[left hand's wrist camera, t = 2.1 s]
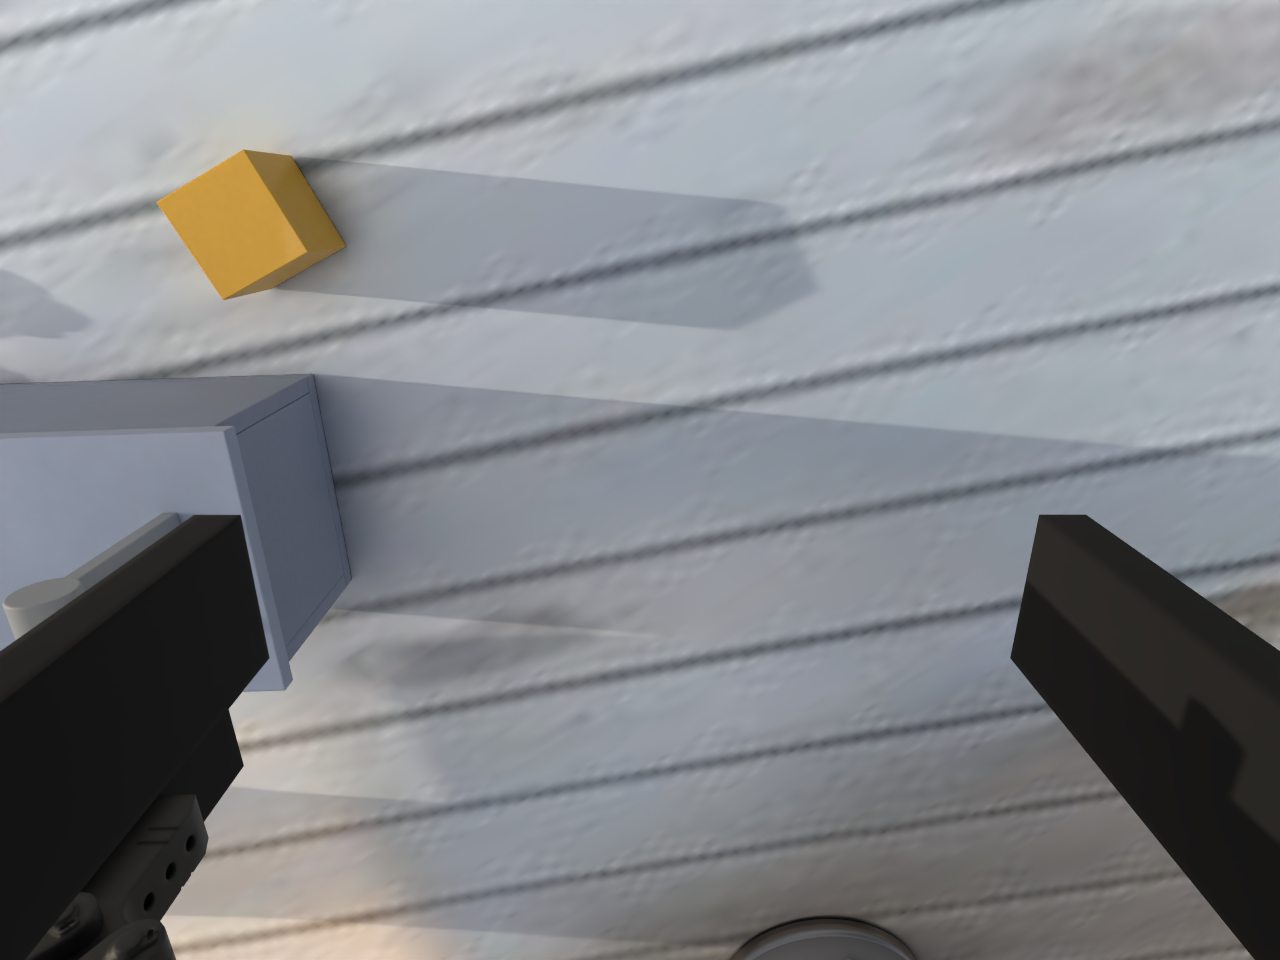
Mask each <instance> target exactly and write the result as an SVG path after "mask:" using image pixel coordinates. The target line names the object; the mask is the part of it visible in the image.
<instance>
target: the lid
mask: <svg viewBox="0 0 1280 960" xmlns="http://www.w3.org/2000/svg"><path fill="white" fill-rule="evenodd" d="M193 515H241V519H242V524H243V529H244V534H245V539H246V544H247V548H248V553H249V558H250V563H251V568H252V573H253V578H254V583H255V588H256V593H257V598H258V603H259V608H260V613H261V618H262V623H263V628H264V633H265V638H266V643H267V648H268V653H269V659H268V661H267V662H266V663H265V664H264V666H263V667H262V668H261V669H260V671H259V672H258V673H257V674H256V676H255V677H254V678H253V679H252V680H251V682H250V683H249V684H248V685H247V687H246V688H245V689H244V690H243V692H249V691H283V690H286V689H287V687H288V686H289V684H290V683H291V682H292V680H293V678H292V674H291V670H290V665H289V661H288V657H287V652H286V648H285V644H284V639H283V635H282V631H281V626H280V622H279V618H278V613H277V609H276V605H275V600H274V596H273V592H272V587H271V583H270V579H269V574H268V570H267V566H266V561H265V557H264V553H263V548H262V544H261V540H260V535H259V531H258V527H257V522H256V518H255V514H254V509H253V505H252V501H251V496H250V492H249V488H248V483H247V479H246V475H245V470H244V466H243V462H242V457H241V453H240V449H239V444H238V440H237V436H236V431H235V427H234V426H212V427H181V428H150V429H120V430H89V431H59V432H28V433H0V651H1V650H3V649H4V648H5V647H7V646H8V645H10V644H11V643H12V642H14V641H15V640H17V639H18V638H20V637H21V636H22V635H24V634H25V633H27V632H28V631H30V630H31V629H32V628H34V627H35V626H37V625H38V624H40V623H41V622H42V621H44V620H45V619H47V618H48V617H49V616H51V615H52V614H54V613H55V612H57V611H58V610H59V609H61V608H62V607H64V606H65V605H67V604H68V603H69V602H71V601H72V600H74V599H75V598H76V597H78V596H79V595H81V594H82V593H84V592H85V591H86V590H88V589H89V588H91V587H92V586H94V585H95V584H96V583H98V582H99V581H101V580H102V579H104V578H105V577H106V576H108V575H109V574H111V573H112V572H113V571H115V570H116V569H118V568H119V567H121V566H122V565H123V564H125V563H126V562H128V561H129V560H131V559H132V558H133V557H135V556H136V555H138V554H139V553H140V552H142V551H143V550H145V549H146V548H148V547H149V546H150V545H152V544H153V543H155V542H156V541H158V540H159V539H160V538H162V537H163V536H165V535H166V534H167V533H169V532H170V531H172V530H173V529H175V528H176V527H177V526H179V525H180V524H182V523H183V522H185V521H186V520H187V519H189V518H190V517H192V516H193Z"/></svg>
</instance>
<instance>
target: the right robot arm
mask: <svg viewBox="0 0 1280 960" xmlns="http://www.w3.org/2000/svg"><path fill="white" fill-rule="evenodd" d="M243 766H244V765H243V761H242V757H241V754H240V750H239V746H238V743H237V739H236V735H235V732H234V728H233V724H232V721H231V717H230V713H229V710H227V711H226V713H225V714H224V715H223V716H222V717H221V719H220V720H219V721H218V722H217V724H216V725H215V726H214V727H213V729H212V730H211V731H210V732H209V733H208V735H207V736H206V737H205V738H204V740H203V741H202V742H201V743H200V745H199V746H198V747H197V748H196V750H195V751H194V752H193V753H192V754H191V756H190V757H189V758H188V759H187V761H186V762H185V763H184V764H183V766H182V767H181V768H180V769H179V771H178V772H177V773H176V774H175V775H174V777H173V778H172V779H171V780H170V782H169V783H168V784H167V785H166V787H165V788H164V789H163V790H162V791H161V793H160V794H159V795H158V796H157V798H156V799H155V800H154V801H153V803H152V804H151V805H150V806H149V808H148V809H147V810H146V811H145V812H144V814H143V815H142V816H141V817H140V819H139V820H138V821H137V822H136V824H135V825H134V826H133V827H132V828H131V830H130V831H129V832H128V833H127V835H126V836H125V837H124V838H123V840H122V841H121V842H120V843H119V845H118V846H117V847H116V848H115V849H114V851H113V852H112V853H111V854H110V856H109V857H108V858H107V859H106V861H105V862H104V863H103V864H102V865H101V867H100V868H99V869H98V870H97V872H96V873H95V874H94V875H93V877H92V878H91V879H90V880H89V882H88V883H87V884H86V885H85V886H84V888H83V889H82V890H81V891H80V893H79V894H78V895H77V896H76V898H75V899H74V900H73V901H72V902H71V904H70V905H69V906H68V907H67V909H66V910H65V911H64V912H63V914H62V915H61V916H60V917H59V919H58V920H57V921H56V922H55V923H54V925H53V926H52V927H51V928H50V930H49V931H48V932H47V933H46V935H45V936H44V937H43V938H42V940H41V941H40V942H39V943H38V944H37V946H36V947H35V948H34V949H33V951H32V952H31V953H30V954H29V956H28V957H27V958H26V959H25V960H176V958H175V955H174V952H173V949H172V947H171V944H170V941H169V938H168V935H167V932H166V929H165V927H164V926H163V925H162V923H161V922H160V920H161V919H162V917H163V916H164V915H165V913H166V912H167V910H168V909H169V907H170V906H171V904H172V903H173V901H174V900H175V898H176V897H177V895H178V894H179V892H180V891H181V887H182V886H184V885H185V883H186V882H187V880H188V879H189V877H190V876H191V872H193V871H194V870H195V869H196V867H197V866H198V864H199V863H200V861H201V860H202V858H203V857H204V855H205V853H206V848H207V843H208V835H207V831H206V828H205V825H204V821H205V820H206V818H207V817H208V815H209V814H210V813H211V811H212V810H213V808H214V807H215V806H216V804H217V803H218V801H219V800H220V799H221V797H222V796H223V794H224V793H225V791H226V790H227V789H228V787H229V786H230V784H231V783H232V782H233V780H234V779H235V777H236V776H237V775H238V773H239V772H240V770H241V769H242V768H243Z"/></svg>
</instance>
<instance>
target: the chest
mask: <svg viewBox="0 0 1280 960" xmlns="http://www.w3.org/2000/svg"><path fill="white" fill-rule="evenodd" d="M212 426H234V427H235V431H236V436H237V440H238V444H239V449H240V453H241V457H242V462H243V466H244V470H245V475H246V479H247V483H248V488H249V492H250V496H251V501H252V505H253V509H254V514H255V518H256V522H257V527H258V531H259V535H260V540H261V544H262V548H263V553H264V557H265V561H266V566H267V570H268V574H269V579H270V583H271V587H272V592H273V596H274V600H275V605H276V609H277V613H278V618H279V622H280V626H281V631H282V635H283V639H284V644H285V648H286V652H287V657H288V661H290V660H291V658H292V657H293V656H294V655H295V653H296V652H297V651H298V649H299V648H300V647H301V645H302V644H303V643H304V641H305V640H306V639H307V637H308V636H309V635H310V634H311V632H312V631H313V630H314V628H315V627H316V626H317V624H318V623H319V622H320V620H321V619H322V618H323V616H324V615H325V614H326V613H327V611H328V610H329V609H330V607H331V606H332V605H333V603H334V602H335V601H336V599H337V598H338V597H339V595H340V594H341V593H342V592H343V590H344V589H345V588H346V586H347V585H348V584H349V582H350V581H351V574H350V568H349V563H348V558H347V552H346V547H345V542H344V537H343V531H342V526H341V521H340V515H339V510H338V505H337V499H336V494H335V489H334V483H333V478H332V473H331V467H330V462H329V457H328V451H327V446H326V441H325V435H324V430H323V425H322V419H321V414H320V409H319V403H318V398H317V393H316V388H315V382H314V377H313V374H295V375H264V376H234V377H204V378H173V379H143V380H113V381H82V382H52V383H22V384H0V433H28V432H59V431H89V430H120V429H150V428H181V427H212Z"/></svg>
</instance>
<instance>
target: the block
mask: <svg viewBox="0 0 1280 960" xmlns="http://www.w3.org/2000/svg"><path fill="white" fill-rule="evenodd" d="M157 204H158V205H159V207H160V208H161V209H162V211H163V212H164V214H165V215H166V217H167V218H168V220H169V221H170V223H171V224H172V226H173V227H174V229H175V230H176V231H177V233H178V234H179V236H180V237H181V239H182V240H183V242H184V243H185V245H186V246H187V248H188V249H189V251H190V252H191V253H192V255H193V256H194V258H195V259H196V261H197V262H198V264H199V265H200V267H201V268H202V270H203V271H204V272H205V274H206V275H207V277H208V278H209V280H210V281H211V283H212V284H213V286H214V287H215V289H216V290H217V292H218V293H219V294H220V296H221V297H222V299H223V300H226V299H230V298H235V297H239V296H243V295H247V294H251V293H256V292H260V291H264V290H268V289H272V288H273V287H275V286H277V285H279V284H281V283H282V282H284V281H286V280H288V279H289V278H291V277H293V276H295V275H296V274H298V273H300V272H302V271H304V270H305V269H307V268H309V267H311V266H312V265H314V264H316V263H318V262H320V261H321V260H323V259H325V258H327V257H328V256H330V255H332V254H334V253H335V252H337V251H339V250H341V249H343V248H344V247H346V245H345V243H344V241H343V240H342V238H341V236H340V235H339V233H338V231H337V230H336V228H335V227H334V225H333V223H332V222H331V220H330V218H329V217H328V215H327V213H326V212H325V210H324V209H323V207H322V205H321V204H320V202H319V200H318V199H317V197H316V195H315V194H314V192H313V191H312V189H311V187H310V186H309V184H308V182H307V181H306V179H305V177H304V176H303V174H302V173H301V171H300V169H299V168H298V166H297V164H296V163H295V161H294V160H293V158H292V156H288V155H280V154H272V153H265V152H257V151H249V150H242V151H240V152H239V153H237V154H235V155H234V156H232V157H230V158H229V159H227V160H225V161H224V162H222V163H220V164H219V165H217V166H215V167H214V168H212V169H210V170H209V171H207V172H206V173H204V174H202V175H201V176H199V177H197V178H196V179H194V180H192V181H191V182H189V183H187V184H186V185H184V186H182V187H181V188H179V189H177V190H176V191H174V192H172V193H171V194H169V195H167V196H166V197H164V198H163V199H161V200H159V201H158V202H157Z"/></svg>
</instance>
